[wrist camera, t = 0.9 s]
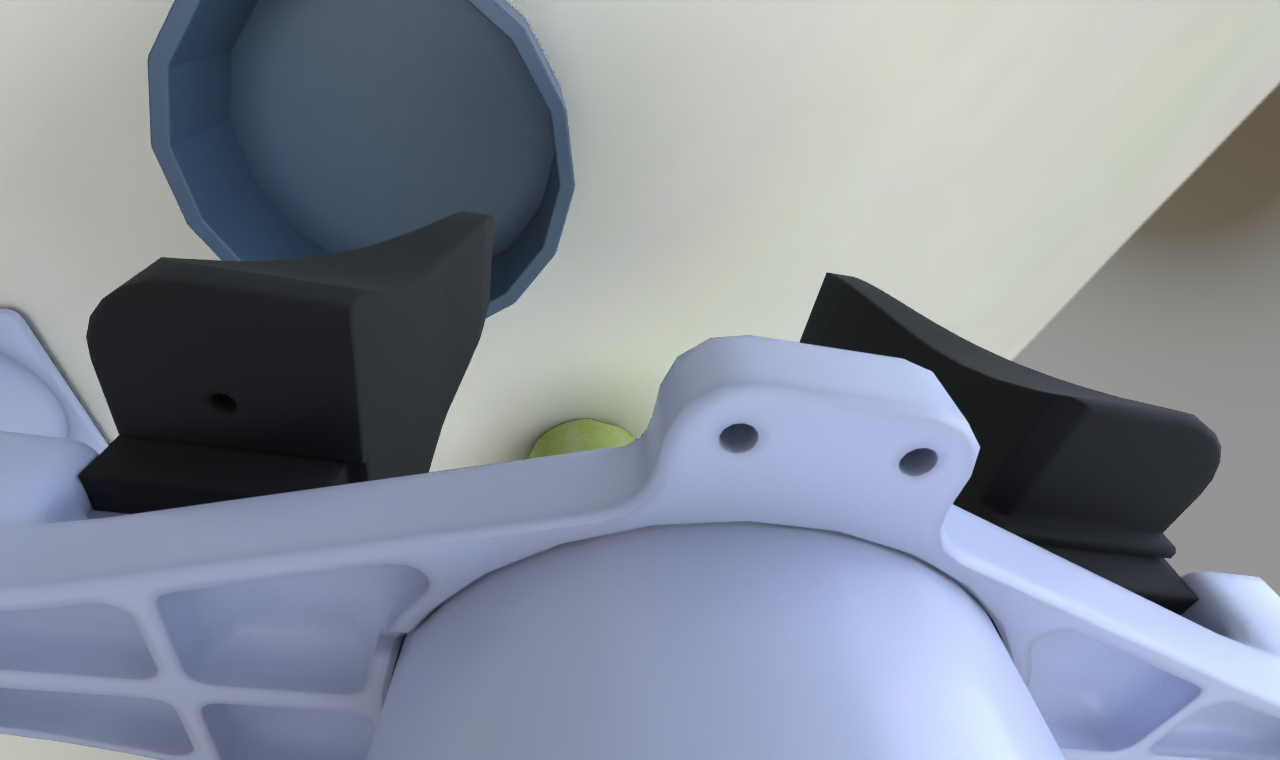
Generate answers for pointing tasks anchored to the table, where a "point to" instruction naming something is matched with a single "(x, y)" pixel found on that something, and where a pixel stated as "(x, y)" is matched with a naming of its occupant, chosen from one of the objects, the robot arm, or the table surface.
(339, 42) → the tub
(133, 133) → the table surface
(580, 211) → the table surface
